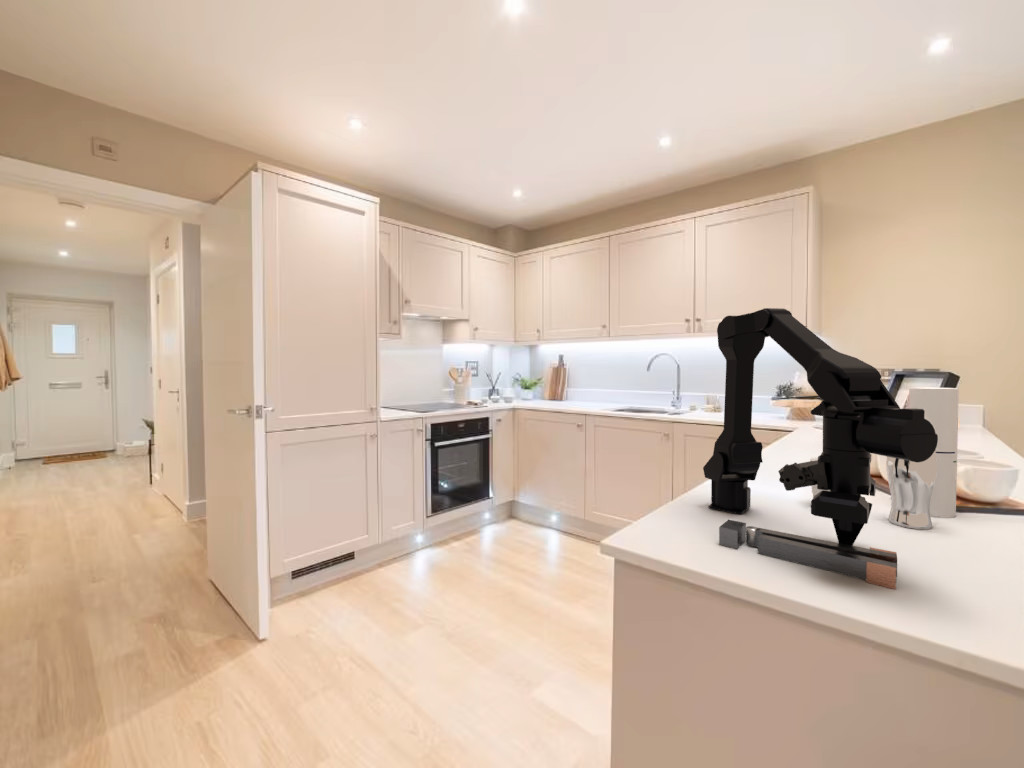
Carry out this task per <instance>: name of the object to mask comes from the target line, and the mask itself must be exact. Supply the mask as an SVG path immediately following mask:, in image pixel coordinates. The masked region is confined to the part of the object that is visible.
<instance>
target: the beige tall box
mask: <svg viewBox="0 0 1024 768" xmlns="http://www.w3.org/2000/svg"><path fill="white" fill-rule="evenodd" d="M908 389H909V390H908V392H909V393H908V400H909V401H908V409H909V408H916V409H923V410H924V411H925V413H924V419H926V420H928V421H929V422H930V423H931V424H932V425H933V427H934V429H935V433H936V434H937V435H938V442H937V446H936V459H937V475H936V481H935V486H934V490H933V493H932V497H931V501H930V517H934V518H942V519H943V518H945V519H948V518H949V519H950V518H955V517H956V516H957V507H956V506H957V481H958V480H957V479H958V478H957V476H958V473H957V472H958V440H959V439H958V435H959V434H958V432H959V428H958V427H959V394H960V393H959V388H958V387H957V388H956V387H926V386H925V387H921V386H920V387H909V388H908Z"/></svg>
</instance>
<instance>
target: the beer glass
mask: <svg viewBox="0 0 1024 768" xmlns="http://www.w3.org/2000/svg"><path fill="white" fill-rule="evenodd" d="M885 468H886V475H887V482H888V486H889V492H890V499H891V500H890V501H891V507H890V511H889V515H888V522H889V523H891V524H893V525H896V526H899V527H903V528H907V529H913V530H921V531H922V530H924V531H925V530H927V531H928V530H932V528H933V522H932V518H931V517H932V516H930V501H931V497H932V493H933V490H934V486H935V481H936V475H937V459H936V449H935V451H934V453H933V454H932V456H931V457H930V458H928V459H927V460H925V461H923V462H912V461H907V460H902V459H897V458H892V457H888V456H886V467H885Z"/></svg>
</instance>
